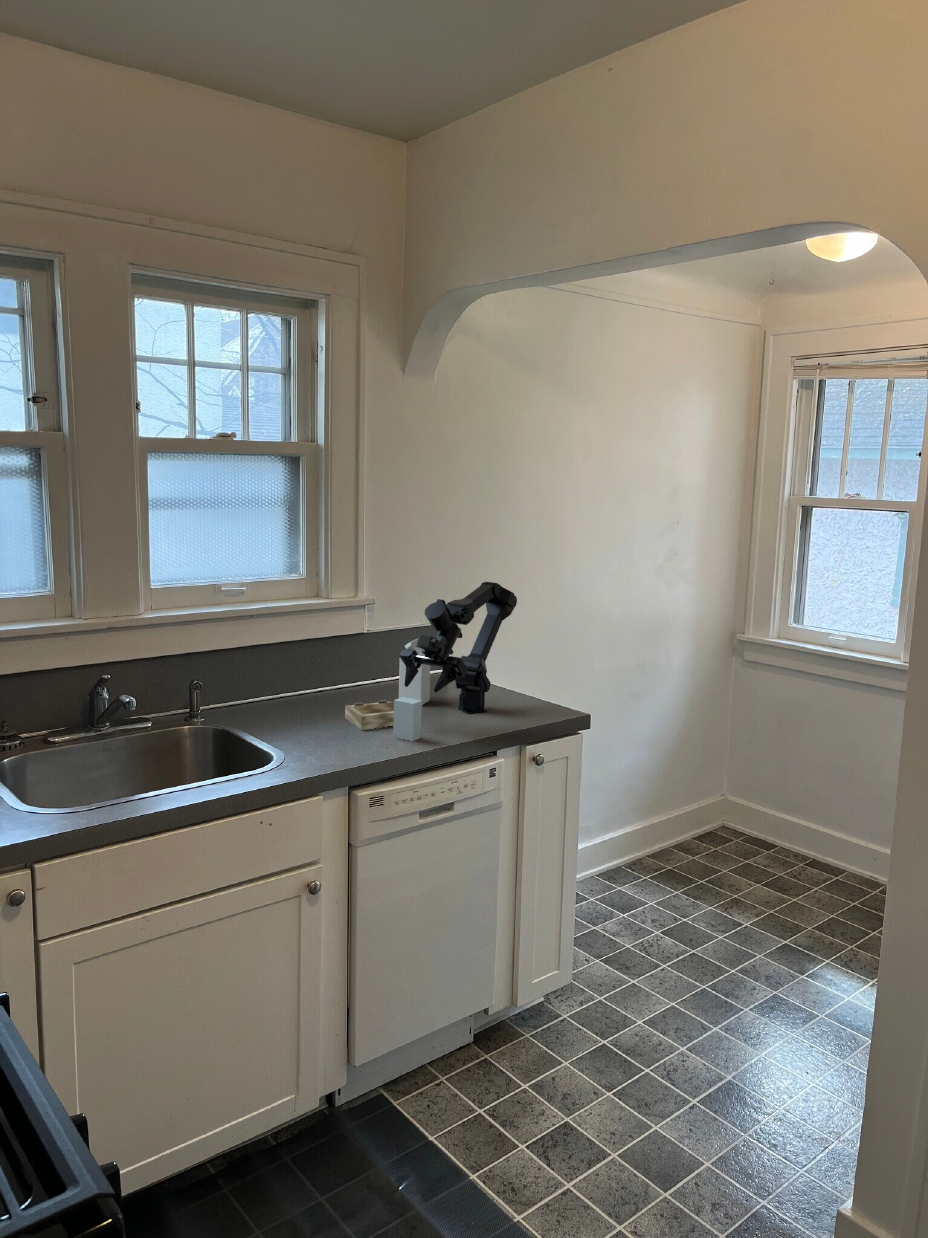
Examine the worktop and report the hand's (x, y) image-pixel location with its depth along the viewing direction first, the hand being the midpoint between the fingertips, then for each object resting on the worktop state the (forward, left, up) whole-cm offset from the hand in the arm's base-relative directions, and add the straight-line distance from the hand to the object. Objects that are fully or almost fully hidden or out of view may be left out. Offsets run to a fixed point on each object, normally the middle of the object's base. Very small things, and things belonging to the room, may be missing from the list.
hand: (420, 688), depth 243 cm
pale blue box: (+5, +3, -12) cm, 13 cm away
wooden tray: (+6, -14, -12) cm, 19 cm away
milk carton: (-12, -28, -12) cm, 33 cm away
